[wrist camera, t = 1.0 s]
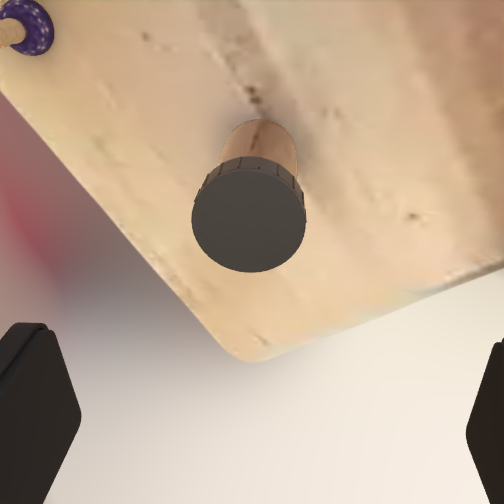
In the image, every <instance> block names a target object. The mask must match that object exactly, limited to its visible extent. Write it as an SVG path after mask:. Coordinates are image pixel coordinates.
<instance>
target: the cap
mask: <svg viewBox="0 0 504 504" xmlns="http://www.w3.org/2000/svg"><path fill="white" fill-rule="evenodd" d="M194 202H195V204H194V207H193V211H192V229H193V233H194V236H195V238H196V240H197V242H198V244H199V246H200V247H201V248H202V250H203V251H204V252H205V253H206V254H207V255H208V256H209V257H210V258H211V259H212V260H214V261H215V262H217V263H218V264H220V265H222V266H224V267H226V268H229V269H232V270H235V271H239V272H262V271H267V270H270V269H273V268H275V267H277V266H279V265H281V264H283V263H284V262H286V261H287V260H288V259H289V258H291V257H292V255H293V254H294V253H295V252H296V251H297V249H298V248H299V246H300V244H301V242H302V240H303V237H304V233H305V225H306V209H305V205H304V193H303V192H302V190H301V188H300V186H299V184H298V182H297V180H296V179H295V176H293V175H292V174H291V173H290V172H289V171H288V170H287V169H285V168H284V167H283V166H281V165H280V164H278V163H276V162H274V161H271V160H269V159H266V158H262V157H261V156H260V157H255V156H244V157H242V156H240V157H238V158H234V159H231V160H228V161H226V162H224V163H223V162H222V163H221V164H220V165H219V166H217V167H216V168H215V169H214V170H213V171H212V172H211V173H210V174H207V177H206V179H205V181H204V183H203V185H202V187H201V189H199V191H198V194H197V196H196V198H195V200H194Z"/></svg>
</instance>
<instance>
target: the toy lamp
mask: <svg viewBox="0 0 504 504" xmlns="http://www.w3.org/2000/svg"><path fill="white" fill-rule="evenodd" d="M53 39H54V29H53V25H52V22H51V19H50V17H49V16H48V14H47V12H46V11H45V10H44V9H43V8H42V7H41V6H40V5H39V4H37V3H36V2H34V1H33V0H9V1H8V2H6V3H5V4H4V5H3V6H2V8H1V10H0V48H1V47H2V46H5V47H6V46H10V47H12V48H13V49H14V50H16V51H18V52H20V53H22V54H25V55H29V56H37V55H41V54H43V53H45V52H46V51H48V49H49V48H50V47H51V45H52V43H53Z"/></svg>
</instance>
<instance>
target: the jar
mask: <svg viewBox="0 0 504 504" xmlns="http://www.w3.org/2000/svg"><path fill="white" fill-rule="evenodd" d="M240 156H242V157H244V156H255V157H260V156H261V157H262V158H266V159H269V160H271V161H274V162H276V163H278V164H280V165H281V166H283V167H284V168H285V169H287V170H288V171H289V172H290V173H291V174H292V175H293V176H295V179H296V180H297V160H296V148H295V144H294V142H293V140H292V138H291V136H290V135H289V133H288V132H287V131H286V130H285V129H284V128H283V127H281V126H280V125H278V124H276V123H274V122H272V121H268V120H251V121H247V122H245V123H243V124H241V125H239V126H238V127H237V128H235V129H234V130H233V131H232V132H231V134H230V135H229V137H228V139H227V140H226V143H225V146H224V148H223V151H222V153H221V156H220V158H219V161H218V163H217V166H219V165H220V164H221V163H222V162H223V163H224V162H226V161H228V160H231V159H234V158H238V157H240ZM217 166H216V167H217Z"/></svg>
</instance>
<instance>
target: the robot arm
mask: <svg viewBox="0 0 504 504" xmlns="http://www.w3.org/2000/svg"><path fill="white" fill-rule="evenodd" d="M80 423H81V410H80V407H79V404H78V401H77V398H76V395H75V392H74V389H73V386H72V383H71V380H70V377H69V374H68V371H67V368H66V365H65V362H64V359H63V356H62V353H61V350H60V347H59V344H58V341H57V338H56V335H55V333H54V332H53V331H52V330H49V329H48V328H47V326H46V325H45V324H43V323H15V324H14V325H12V327H10V329H9V330H8V331H7V332H6V333H5V335H4V336H3V337H2V338H1V340H0V504H43V502H44V500H45V498H46V496H47V494H48V492H49V490H50V488H51V486H52V483H53V481H54V479H55V477H56V475H57V473H58V471H59V469H60V467H61V465H62V462H63V460H64V458H65V456H66V454H67V452H68V450H69V448H70V446H71V443H72V441H73V439H74V437H75V435H76V433H77V431H78V429H79V426H80ZM466 439H467V444H468V447H469V450H470V452H471V455H472V458H473V460H474V463H475V465H476V468H477V470H478V473H479V476H480V478H481V481H482V484H483V486H484V489H485V491H486V494H487V497H488V499H489V502H490V504H504V338H503V340H502V342H497V343H495V344H494V346H493V348H492V351H491V354H490V357H489V360H488V363H487V366H486V369H485V372H484V376H483V378H482V381H481V385H480V388H479V391H478V394H477V397H476V400H475V403H474V406H473V409H472V412H471V415H470V418H469V421H468V424H467V427H466Z"/></svg>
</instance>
